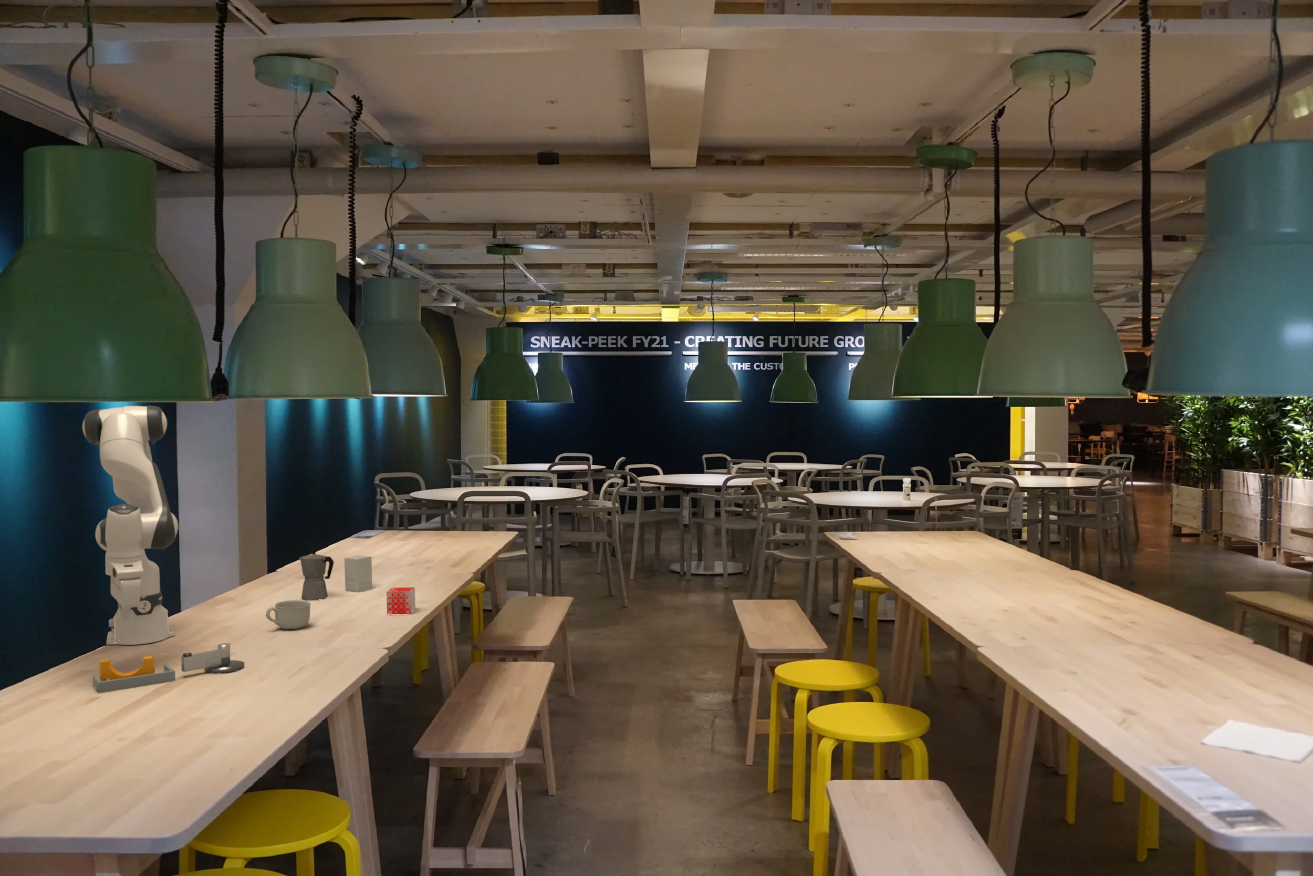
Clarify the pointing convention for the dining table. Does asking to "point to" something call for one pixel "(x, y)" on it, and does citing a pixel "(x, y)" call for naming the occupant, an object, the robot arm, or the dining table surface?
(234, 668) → the crank base
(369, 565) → the supplement box
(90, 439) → the robot arm
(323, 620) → the dining table surface
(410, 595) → the puzzle cube
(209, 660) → the crank
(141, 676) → the bay
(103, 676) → the pipe clamp
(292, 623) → the teacup
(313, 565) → the coffeepot
